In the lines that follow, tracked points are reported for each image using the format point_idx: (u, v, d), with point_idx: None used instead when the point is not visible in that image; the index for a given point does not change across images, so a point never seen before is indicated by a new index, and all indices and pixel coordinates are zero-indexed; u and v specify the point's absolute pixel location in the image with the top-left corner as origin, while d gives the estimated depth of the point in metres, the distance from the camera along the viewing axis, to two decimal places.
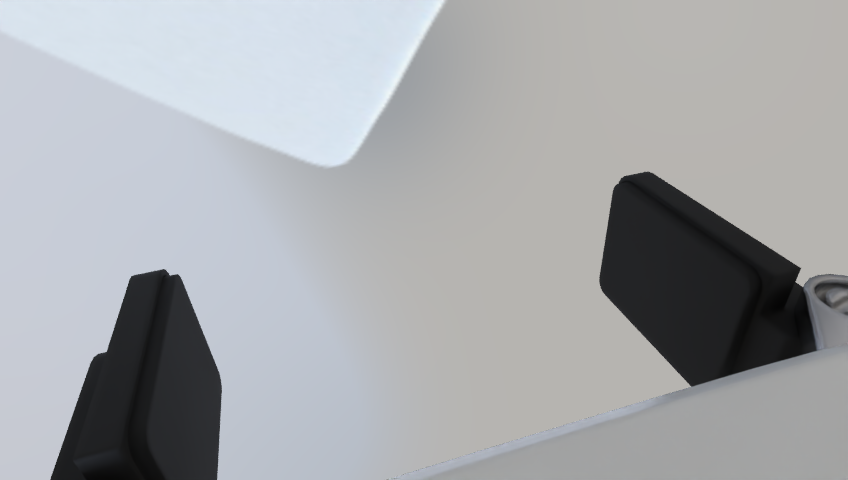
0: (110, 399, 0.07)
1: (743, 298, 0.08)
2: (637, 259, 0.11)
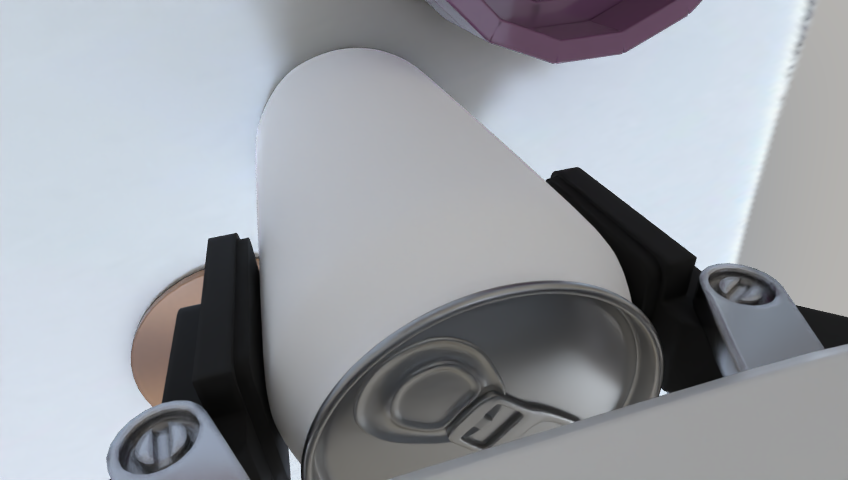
0: (213, 335, 0.08)
1: (646, 286, 0.09)
2: None
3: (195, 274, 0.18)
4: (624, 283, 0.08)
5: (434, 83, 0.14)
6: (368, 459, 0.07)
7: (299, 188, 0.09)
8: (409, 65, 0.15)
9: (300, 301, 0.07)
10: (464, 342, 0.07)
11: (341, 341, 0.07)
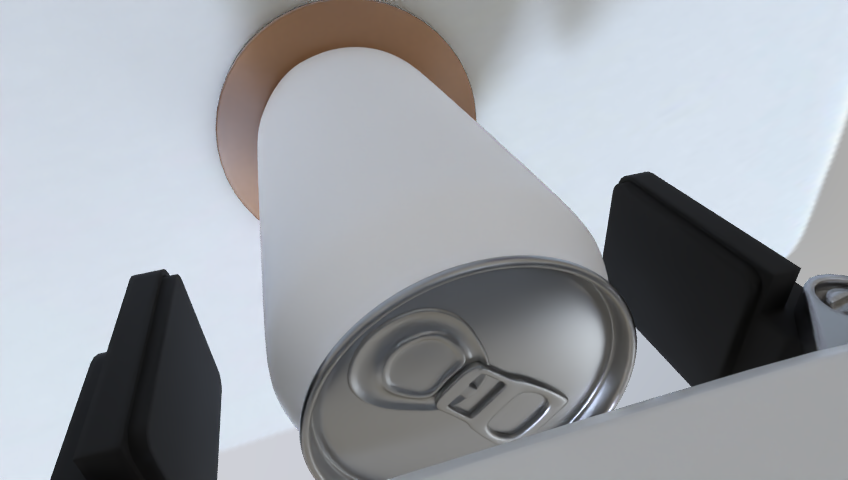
0: (110, 399, 0.07)
1: (743, 298, 0.08)
2: (637, 259, 0.11)
3: (295, 9, 0.16)
4: (600, 263, 0.09)
5: (428, 80, 0.15)
6: (361, 423, 0.08)
7: (299, 176, 0.10)
8: (405, 63, 0.15)
9: (299, 277, 0.08)
10: (448, 313, 0.07)
11: (336, 312, 0.07)
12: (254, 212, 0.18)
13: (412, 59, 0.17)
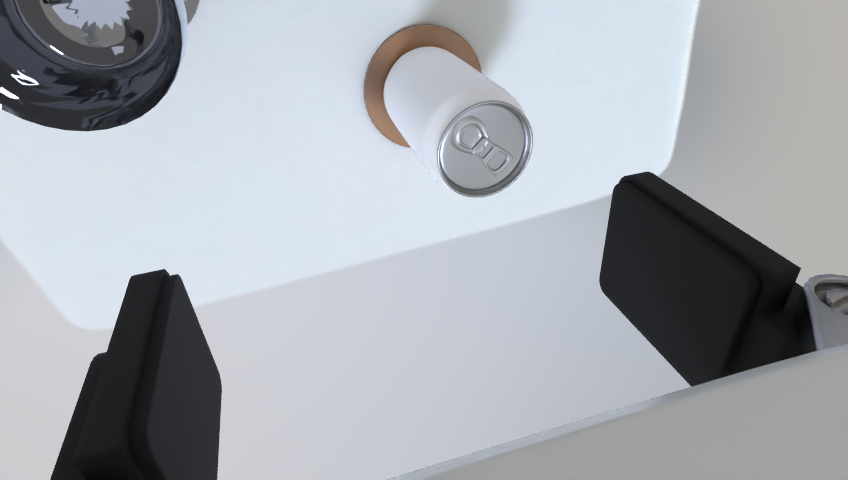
0: (110, 399, 0.07)
1: (743, 298, 0.08)
2: (637, 259, 0.11)
3: None
4: (522, 112, 0.29)
5: None
6: (452, 155, 0.28)
7: (425, 89, 0.30)
8: (451, 53, 0.36)
9: (435, 111, 0.28)
10: (477, 118, 0.28)
11: (448, 117, 0.27)
12: (376, 125, 0.38)
13: (453, 52, 0.37)
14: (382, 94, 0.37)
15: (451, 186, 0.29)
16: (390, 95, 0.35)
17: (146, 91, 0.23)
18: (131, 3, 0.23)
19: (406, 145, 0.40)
